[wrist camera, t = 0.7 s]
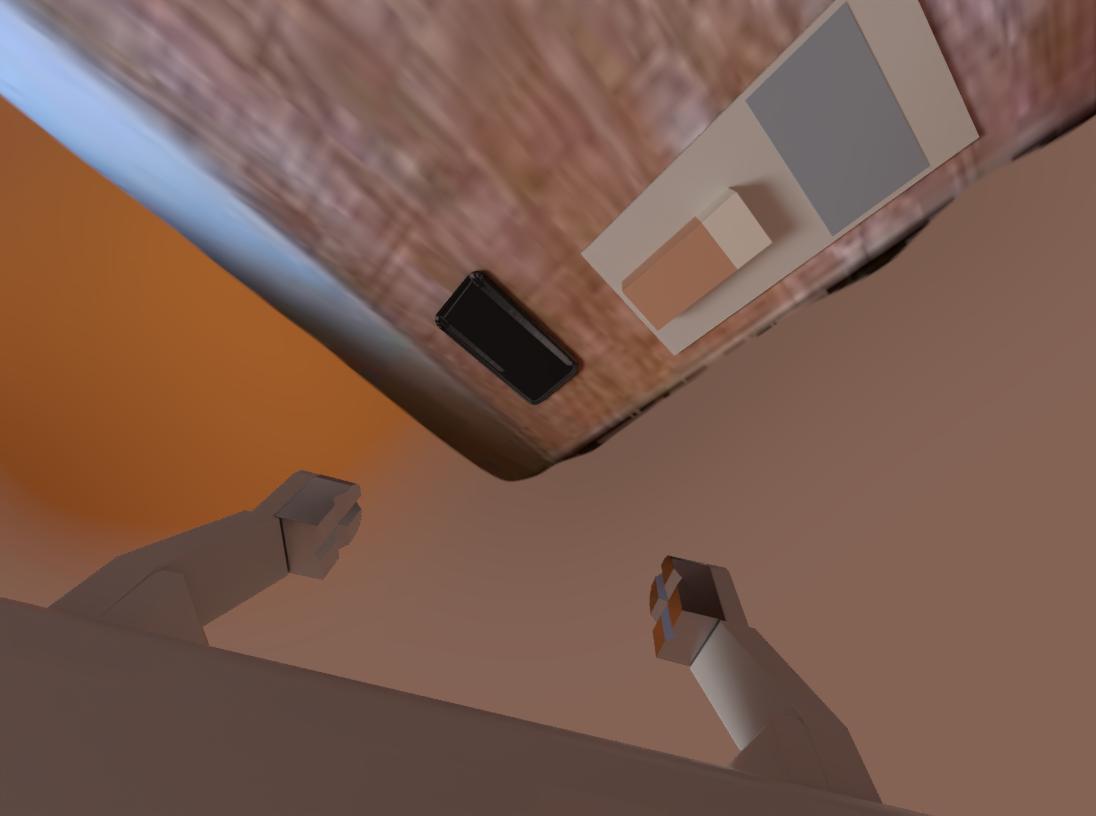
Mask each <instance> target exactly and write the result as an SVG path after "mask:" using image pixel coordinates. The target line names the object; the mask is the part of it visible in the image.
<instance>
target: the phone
mask: <svg viewBox="0 0 1096 816" xmlns="http://www.w3.org/2000/svg"><path fill="white" fill-rule="evenodd" d="M435 322H436V324H437V326H438V327H439V328H440V329H441V330H442V331H443V332H445V333H446V334H447V335H448V336H449V337H451V338H452V339H453V340H454V341H455V342H457V343H458V344H459V345H460V346H461V347H462V348H464V349H465V350H466V351H467V352H468V353H470V354H471V355H472V356H473V357H474V358H476V359H477V360H478V361H479V362H480V363H481V364H483V365H484V366H485V367H486V368H487V369H489V370H490V371H491V372H492V373H493V374H495V375H496V376H497V377H498V378H499V379H500V380H502V381H503V382H504V383H505V384H506V385H508V386H509V387H510V388H511V389H512V390H514V391H515V392H516V393H517V394H518V395H519V396H521V397H522V398H523V399H524V400H525V401H527V402H528V403H530V404H532V405H537V404H540V403H541V402H543V401H544V400H545V399H546V398H547V397H549V396H550V395H551V394H552V393H553V392H555V391H556V390H557V389H558V388H559V387H561V386H562V385H563V384H564V383H565V382H567V381H568V380H569V379H570V378H571V377H573V376H574V375H575V374H576V372H577V370H578V362H577V360H576V359H575V358H574V357H573V356H572V355H571V354H570V353H569V352H568V351H567V350H566V349H564V348H563V347H562V346H561V345H560V344H559V343H558V342H557V341H556V340H555V339H554V338H553V337H552V336H551V335H549V334H548V333H547V332H546V331H545V330H544V329H543V328H542V327H541V326H540V325H539V324H538V323H537V322H536V321H535V320H533V319H532V318H531V317H530V316H529V315H528V314H527V313H526V312H525V311H524V310H523V309H522V308H521V307H520V306H518V305H517V304H516V303H515V302H514V301H513V300H512V299H511V298H510V297H509V296H508V295H507V294H506V293H505V292H504V291H502V290H501V289H500V288H499V287H498V286H497V285H496V284H495V283H494V282H493V281H492V280H491V279H490V278H489V277H488V276H486V275H485V274H484V273H483V272H480V271H474V272H472V273H470V274H469V275H468V276H467V277H466V279H465V280H464V281H463V282H462V283H461V285H460V286H459V287H458V288H457V290H456V291H455V292H454V293H453V294H452V296H451V297H450V298H449V299H448V301H447V302H446V303H445V304H444V305H443V307H442V308H441V309H440V310H439V312H438V313H437V314H436V316H435Z"/></svg>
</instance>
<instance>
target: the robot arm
mask: <svg viewBox="0 0 1096 816" xmlns="http://www.w3.org/2000/svg"><path fill="white" fill-rule="evenodd" d="M360 496H361V493H360V486H359V485H358V484H355V483H352V482H348V481H344V480H340V479H336V478H333V477H329V476H324V475H319V474H315V473H311V472H308V471H304V470H301V471H298V472H295V473H294V474H293V475H292V476H291V477H289V478H288V479H287V480H286V481H285V482H284V483H283V484H282V485H280V486H279V488H277V489H276V490H275V491H274V492H273V493H271V494H270V495H269V496H268V497H267V498H266V499H265V500H264V501H262V502H261V503H260V504H259V505H258V506H257V507H256V508H255V509H253V510H252V511H246V510H245V511H242V512H239V513H237V514H234V515H231V516H228V517H225V518H223V519H220V520H217V521H214V522H212V523H209V524H206V525H203V526H200V527H197V528H195V529H192V530H189V531H186V532H184V533H181V534H178V535H175V536H173V537H170V538H167V539H164V540H161V541H159V542H156V543H153V544H150V545H147V546H145V547H142V548H139V549H136V550H134V551H131V552H128V553H125V554H123V555H120V556H117V557H115V558H114V559H113V560H112V561H110V562H109V563H107V564H106V565H105V566H103V567H102V568H101V569H99V570H98V571H96V572H95V573H94V574H93V575H91V576H90V577H88V578H87V579H86V580H84V581H83V582H82V583H80V584H79V585H78V586H76V587H75V588H74V589H72V590H71V591H70V592H68V593H67V594H65V595H64V596H63V597H62V598H60V599H59V600H57V601H56V602H55V603H53V604H52V605H50V606H49V607H48V608H46V607H41V606H37V605H33V604H29V603H25V602H20V601H16V600H12V599H8V598H3V597H0V816H932V815H928V814H924V813H919V812H915V811H911V810H907V809H902V808H898V807H894V806H889V805H885V804H883V803H882V801H881V799H880V797H879V795H878V793H877V790H876V788H875V786H874V784H873V782H872V780H871V778H870V776H869V773H868V771H867V769H866V767H865V765H864V763H863V761H862V759H861V757H860V754H859V752H858V750H857V748H856V746H855V744H854V742H853V739H852V737H851V735H850V733H849V731H848V729H847V727H846V726H845V725H844V724H843V723H842V722H841V721H840V720H839V719H838V717H837V716H836V715H835V714H834V713H833V712H832V711H831V710H830V709H829V708H828V707H827V706H826V705H825V703H824V702H823V701H822V700H821V699H820V698H819V697H818V696H817V695H816V694H815V693H814V692H813V691H812V690H811V688H810V687H809V686H808V685H807V684H806V683H805V682H804V681H803V680H802V679H801V678H800V677H799V675H798V674H797V673H796V672H795V671H794V670H793V669H792V668H791V667H790V666H789V665H788V664H787V662H786V661H785V660H784V659H783V658H782V657H781V656H780V655H779V654H778V653H777V652H776V651H775V650H774V649H773V647H772V646H771V645H770V644H769V643H768V642H767V641H766V640H765V639H764V638H763V637H762V635H760V634H759V632H758V631H757V630H756V629H755V628H751V627H749V625H748V623H747V620H746V617H745V614H744V612H743V609H742V606H741V603H740V601H739V598H738V595H737V593H736V590H735V587H734V584H733V581H732V578H731V576H730V573H729V571H728V570H727V569H726V568H723V567H719V566H715V565H709V564H704V563H700V562H696V561H691V560H687V559H682V558H677V557H673V556H669V555H668V556H667V557H665V558H664V560H663V562H662V564H661V568H662V574H660V575H658V576H656V577H655V579H654V581H653V584H652V586H651V592H650V614H651V616H652V617H653V618H654V619H655V621H656V622H657V623H656V625H655V627H654V629H653V637H654V645H655V652H656V657H657V658H661V659H664V660H668V661H672V662H676V663H680V664H684V665H687V666H691V667H690V669H691V671H692V672H693V674H694V676H695V677H696V679H697V680H698V682H699V684H700V686H701V687H702V689H703V691H704V692H705V694H706V695H707V697H708V699H709V700H710V702H711V704H712V705H713V707H714V709H715V710H716V712H717V714H718V715H719V717H720V718H721V720H722V722H723V723H724V725H725V727H726V728H727V730H728V732H729V733H730V735H731V736H732V738H733V740H734V742H735V743H736V745H737V746H738V748H739V750H740V751H741V752H740V753H739V754H738V755H737V757H736V758H735V759H734V760H733V761H732V762H731V763H730V764H729V765H728V766H727V767H723V766H719V765H715V764H711V763H706V762H702V761H698V760H694V759H689V758H685V757H681V756H676V755H672V754H667V753H664V752H659V751H655V750H650V749H646V748H642V747H638V746H634V745H630V744H625V743H621V742H617V741H613V740H608V739H604V738H599V737H595V736H591V735H587V734H583V733H578V732H574V731H570V730H565V729H561V728H557V727H553V726H549V725H544V724H540V723H536V722H531V721H527V720H523V719H519V718H515V717H510V716H506V715H502V714H497V713H493V712H489V711H485V710H480V709H476V708H472V707H468V706H463V705H459V704H455V703H450V702H446V701H442V700H438V699H433V698H429V697H425V696H420V695H416V694H412V693H408V692H403V691H399V690H395V689H390V688H386V687H382V686H377V685H373V684H369V683H365V682H361V681H356V680H352V679H348V678H344V677H339V676H335V675H331V674H326V673H322V672H318V671H314V670H309V669H305V668H300V667H296V666H292V665H288V664H284V663H280V662H275V661H271V660H267V659H263V658H258V657H254V656H250V655H245V654H241V653H237V652H233V651H228V650H224V649H220V648H216V647H211V646H209V644H208V641H207V638H206V635H205V632H204V629H203V626H205V625H206V624H208V623H210V622H211V621H213V620H214V619H216V618H218V617H219V616H221V615H223V614H224V613H226V612H228V611H229V610H231V609H233V608H234V607H236V606H238V605H239V604H241V603H243V602H244V601H246V600H248V599H249V598H251V597H253V596H254V595H256V594H258V593H259V592H261V591H262V590H264V589H266V588H267V587H269V586H270V585H272V584H274V583H276V582H277V581H279V580H281V579H282V578H284V577H286V576H287V575H288V573H292V574H297V575H302V576H307V577H312V578H317V579H322V580H323V579H324V578H325V576H326V575H327V574H328V572H329V571H330V570H331V568H332V567H333V565H334V564H335V563H336V561H337V560H338V559H339V552H338V549H340V548H342V547H344V546H346V545H348V544H349V543H350V542H351V541H352V539H353V538H354V536H355V534H356V532H357V530H358V527H359V525H360V521H361V508H360V506H359V505H358V504H357V502H356V501H357V500H358V499H359V497H360Z"/></svg>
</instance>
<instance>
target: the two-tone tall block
mask: <svg viewBox="0 0 1096 816" xmlns="http://www.w3.org/2000/svg"><path fill="white" fill-rule="evenodd" d="M771 243H772V241H771V240H770V238H769V237H768V236H767V234H766V233H765V231H764V230H763V229H762V227H761V226H760V224H759V223H758V222H757V220H756V219H755V217H754V216H753V215H752V213H751V212H750V210H749V209H748V207H747V206H746V205H745V203H744V202H743V200H742V199H741V198H740V196H739V195H738V193H737V192H735V191H733V190H731V189H729V188H726V189H725V190H724V191H723V192H722V193H721V194H719V195H718V196H717V197H716V198H715V199H714V200H713V201H712V202H711V203H709V204H708V205H707V206H706V207H705V208H704V209H703V210H702V211H700V212H699V213H698V214H697V215H696V216H695V217H694V218H693V219H691V220H690V221H689V222H688V223H687V224H686V225H685V226H684V227H682V228H681V229H680V230H679V231H678V232H677V233H676V234H675V235H673V236H672V237H671V238H670V239H669V240H668V241H667V242H666V243H664V244H663V245H662V246H661V247H660V248H659V249H658V250H657V251H656V252H654V253H653V254H652V255H651V256H650V257H649V258H648V259H647V260H645V261H644V262H643V263H642V264H641V265H640V266H639V267H638V268H636V269H635V270H634V271H633V272H632V273H631V274H630V275H629V276H627V277H626V278H625V279H624V280H623V281H622V292H623V293H624V294H625V296H626V297H627V298H628V299H629V300H630V301H631V302H632V303H633V304H634V305H635V306H636V308H637V309H638V310H639V311H640V312H641V313H642V314H643V315H644V316H645V317H646V319H647V320H648V321H649V322H650V323H651V324H652V325H653V326H654V327H655V328H656V330H657V331H658V330H660V329H661V328H662V327H664V326H665V325H666V324H668V323H669V322H670V321H671V320H673V319H674V318H675V317H677V316H678V315H679V314H680V313H682V312H683V311H684V310H686V309H687V308H688V307H690V306H691V305H692V304H693V303H695V302H696V301H697V300H699V299H700V298H701V297H703V296H704V295H705V294H706V293H708V292H709V291H710V290H712V289H713V288H714V287H715V286H717V285H718V284H719V283H721V282H722V281H723V280H725V279H726V278H727V277H728V276H730V275H731V274H732V273H734V272H735V271H736V270H738V269H739V268H740V267H741V266H743V265H744V264H745V263H747V262H748V261H749V260H750V259H752V258H753V257H754V256H756V255H757V254H758V253H760V252H761V251H762V250H763V249H765V248H766V247H767V246H769V245H770V244H771Z"/></svg>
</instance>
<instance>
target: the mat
mask: <svg viewBox="0 0 1096 816" xmlns="http://www.w3.org/2000/svg"><path fill="white" fill-rule="evenodd" d="M977 138H979V135H978V133H977V131H976V128H975V126H974V124H973V122H972V120H971V117H970V115H969V113H968V111H967V108H966V106H965V104H964V102H963V99H962V97H961V95H960V93H959V91H958V88H957V86H956V84H955V82H954V79H953V77H952V75H951V73H950V70H949V68H948V66H947V64H946V61H945V59H944V57H943V55H942V53H941V50H940V48H939V46H938V44H937V41H936V39H935V37H934V35H933V32H932V30H931V28H930V26H929V24H928V21H927V19H926V17H925V15H924V12H923V10H922V8H921V6H920V3H919V1H918V0H834V1H833V2H832V3H831V4H830V5H829V6H828V7H827V8H826V9H825V10H824V11H823V12H822V13H821V14H820V15H819V16H818V17H817V18H816V19H815V20H814V21H813V22H812V23H811V24H810V25H809V26H808V27H807V28H806V29H805V30H804V31H803V32H802V33H801V34H800V35H799V36H798V37H797V38H796V39H795V40H794V41H793V42H792V43H791V44H790V45H789V46H788V47H787V48H786V49H785V50H784V51H783V52H782V53H781V54H780V55H779V56H778V57H777V58H776V59H775V60H774V61H773V62H772V63H771V64H770V65H769V66H768V67H767V68H766V69H765V70H764V71H763V72H762V73H761V74H760V75H759V76H758V77H757V78H756V79H755V80H754V81H753V82H752V83H751V84H750V85H749V86H748V87H747V88H746V89H745V90H744V91H743V92H742V93H741V94H740V95H739V96H738V97H737V98H736V99H735V100H734V101H733V102H732V103H731V104H730V105H729V106H728V107H727V108H726V109H725V110H724V111H723V112H722V113H721V114H720V115H719V116H718V117H717V118H716V119H715V120H714V121H713V122H712V123H711V124H710V125H709V126H708V127H707V128H706V129H705V130H704V131H703V132H702V133H701V134H700V135H699V136H698V137H697V138H696V139H695V140H694V141H693V142H692V143H691V144H690V145H689V146H688V147H687V148H686V149H685V150H684V151H683V152H682V153H681V154H680V155H679V156H678V157H677V158H676V159H675V160H674V161H673V162H672V163H671V164H670V165H669V166H668V167H667V168H666V169H665V170H664V171H663V172H662V173H661V174H660V175H659V176H658V177H657V178H656V179H655V180H654V181H653V182H652V183H651V184H650V185H649V186H648V187H647V188H646V189H645V190H644V191H643V192H642V193H641V194H640V195H639V196H638V197H637V198H636V199H635V200H634V201H633V202H632V203H631V204H630V205H629V206H628V207H627V208H626V209H625V210H624V211H623V212H622V213H621V214H620V215H619V216H618V217H617V218H616V219H615V220H614V221H613V222H612V223H611V224H610V225H609V226H608V227H607V228H606V229H605V230H604V231H603V232H602V233H601V234H600V235H599V236H598V237H597V238H596V239H595V240H594V241H593V242H592V243H591V244H590V245H589V246H588V247H587V248H586V249H585V250H584V251H583V252H582V253H581V255H582V256H583V257H584V258H585V259H586V260H587V261H588V262H589V264H590V265H591V266H592V267H593V268H594V269H595V270H596V271H597V272H598V273H599V274H600V275H601V277H602V278H603V279H604V280H605V281H606V282H607V283H608V284H609V285H610V286H611V287H612V289H613V290H614V291H615V292H616V293H617V294H618V295H619V296H620V297H621V298H622V299H623V301H624V302H625V303H626V304H627V305H628V306H629V307H630V308H631V309H632V310H633V311H634V312H635V314H636V315H637V316H638V317H639V318H640V319H641V320H642V321H643V322H644V323H645V324H646V326H647V327H648V328H649V329H650V330H651V331H652V332H653V333H654V334H655V335H656V336H657V338H658V339H659V340H660V341H661V342H662V343H663V344H664V345H665V346H666V347H667V348H668V349H669V351H670V352H671V353H672V354H673V355H674V356H675V355H676V354H678V353H679V352H681V351H682V350H683V349H685V348H686V347H688V346H689V345H690V344H692V343H693V342H695V341H696V340H697V339H699V338H700V337H702V336H703V335H704V334H706V333H707V332H708V331H710V330H711V329H713V328H714V327H715V326H717V325H718V324H720V323H721V322H722V321H724V320H725V319H727V318H728V317H729V316H731V315H732V314H734V313H735V312H736V311H738V310H739V309H741V308H742V307H743V306H745V305H746V304H747V303H749V302H750V301H752V300H753V299H754V298H756V297H757V296H759V295H760V294H761V293H763V292H764V291H766V290H767V289H768V288H770V287H771V286H773V285H774V284H775V283H777V282H778V281H780V280H781V279H782V278H784V277H785V276H787V275H788V274H789V273H791V272H792V271H793V270H795V269H796V268H798V267H799V266H800V265H802V264H803V263H805V262H806V261H807V260H809V259H810V258H812V257H813V256H814V255H816V254H817V253H819V252H820V251H821V250H823V249H824V248H826V247H827V246H828V245H830V244H831V243H832V242H834V241H835V240H837V239H838V238H839V237H841V236H842V235H844V234H845V233H846V232H848V231H849V230H851V229H852V228H853V227H855V226H856V225H858V224H859V223H860V222H862V221H863V220H865V219H866V218H867V217H869V216H870V215H871V214H873V213H874V212H876V211H877V210H878V209H880V208H881V207H883V206H884V205H885V204H887V203H888V202H890V201H891V200H892V199H894V198H895V197H897V196H898V195H899V194H901V193H902V192H904V191H905V190H906V189H908V188H909V187H911V186H912V185H913V184H915V183H916V182H917V181H919V180H920V179H922V178H923V177H924V176H926V175H927V174H929V173H930V172H931V171H933V170H934V169H936V168H937V167H938V166H940V165H941V164H943V163H944V162H945V161H947V160H948V159H950V158H951V157H952V156H954V155H955V154H956V153H958V152H959V151H961V150H962V149H963V148H965V147H966V146H968V145H969V144H970V143H972V142H973V141H975V140H976V139H977ZM726 188H729V189H731V190H733V191H735V192H737V193H738V195H739V196H740V198H741V199H742V200H743V202H744V203H745V205H746V206H747V207H748V209H749V210H750V212H751V213H752V215H753V216H754V217H755V219H756V220H757V222H758V223H759V224H760V226H761V227H762V229H763V230H764V231H765V233H766V234H767V236H768V237H769V238H770V240H771V241H772V243H771V244H770V245H769V246H767V247H766V248H765V249H763V250H762V251H761V252H760V253H758V254H757V255H756V256H754V257H753V258H752V259H750V260H749V261H748V262H747V263H745V264H744V265H743V266H741V267H740V268H739V269H738V270H736V271H735V272H734V273H732V274H731V275H730V276H728V277H727V278H726V279H725V280H723V281H722V282H721V283H719V284H718V285H717V286H715V287H714V288H713V289H712V290H710V291H709V292H708V293H706V294H705V295H704V296H703V297H701V298H700V299H699V300H697V301H696V302H695V303H693V304H692V305H691V306H690V307H688V308H687V309H686V310H684V311H683V312H682V313H680V314H679V315H678V316H677V317H675V318H674V319H673V320H671V321H670V322H669V323H668V324H666V325H665V326H664V327H662V328H661V329H660V330H658V331H657V330H656V328H655V327H654V326H653V325H652V324H651V323H650V322H649V321H648V320H647V319H646V317H645V316H644V315H643V314H642V313H641V312H640V311H639V310H638V309H637V308H636V306H635V305H634V304H633V303H632V302H631V301H630V300H629V299H628V298H627V297H626V296H625V294H624V293H623V292H622V281H623V280H624V279H625V278H626V277H627V276H629V275H630V274H631V273H632V272H633V271H634V270H635V269H636V268H638V267H639V266H640V265H641V264H642V263H643V262H644V261H645V260H647V259H648V258H649V257H650V256H651V255H652V254H653V253H654V252H656V251H657V250H658V249H659V248H660V247H661V246H662V245H663V244H664V243H666V242H667V241H668V240H669V239H670V238H671V237H672V236H673V235H675V234H676V233H677V232H678V231H679V230H680V229H681V228H682V227H684V226H685V225H686V224H687V223H688V222H689V221H690V220H691V219H693V218H694V217H695V216H696V215H697V214H698V213H699V212H700V211H702V210H703V209H704V208H705V207H706V206H707V205H708V204H709V203H711V202H712V201H713V200H714V199H715V198H716V197H717V196H718V195H719V194H721V193H722V192H723V191H724V190H725V189H726Z"/></svg>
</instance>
